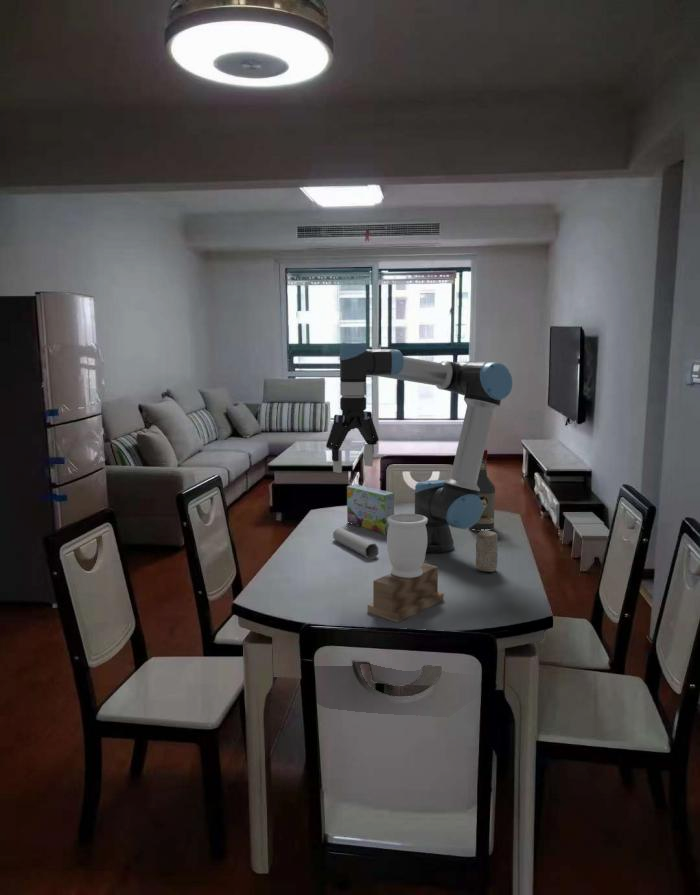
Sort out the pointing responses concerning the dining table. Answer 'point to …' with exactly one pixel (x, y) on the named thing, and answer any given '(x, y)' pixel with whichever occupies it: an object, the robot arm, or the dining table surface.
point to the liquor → (485, 497)
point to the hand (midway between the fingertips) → (353, 469)
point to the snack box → (369, 507)
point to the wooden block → (405, 594)
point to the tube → (356, 543)
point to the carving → (486, 551)
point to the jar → (407, 544)
